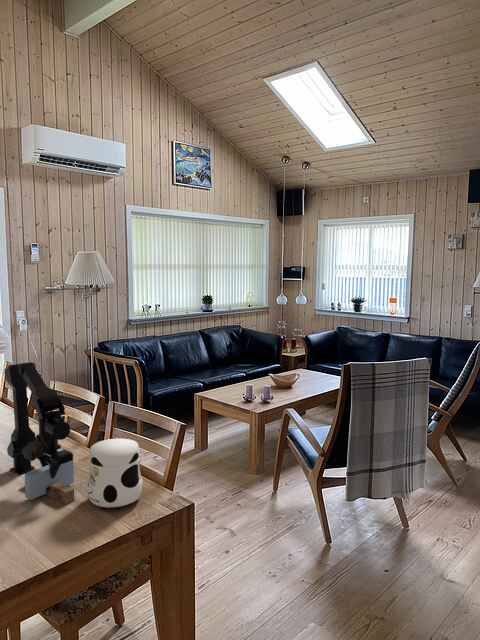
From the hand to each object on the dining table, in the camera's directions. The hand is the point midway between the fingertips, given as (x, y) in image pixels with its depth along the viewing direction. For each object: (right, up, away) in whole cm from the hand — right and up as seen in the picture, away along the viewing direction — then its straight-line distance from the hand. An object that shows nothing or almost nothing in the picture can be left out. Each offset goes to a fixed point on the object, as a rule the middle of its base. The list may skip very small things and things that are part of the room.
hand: (49, 476), depth 165 cm
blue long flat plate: (0, -5, +1) cm, 4 cm away
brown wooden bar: (0, -6, +1) cm, 6 cm away
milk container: (+23, -7, -4) cm, 24 cm away
